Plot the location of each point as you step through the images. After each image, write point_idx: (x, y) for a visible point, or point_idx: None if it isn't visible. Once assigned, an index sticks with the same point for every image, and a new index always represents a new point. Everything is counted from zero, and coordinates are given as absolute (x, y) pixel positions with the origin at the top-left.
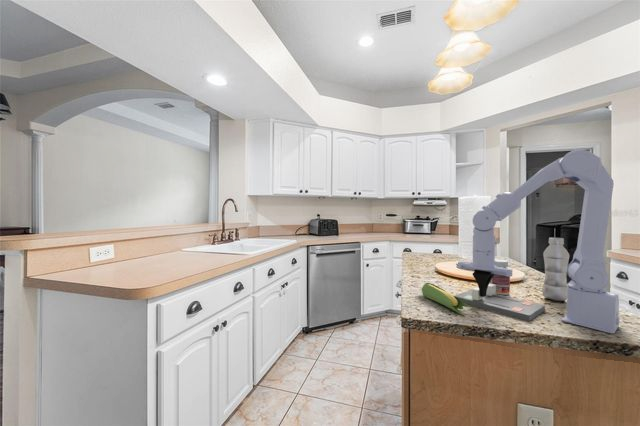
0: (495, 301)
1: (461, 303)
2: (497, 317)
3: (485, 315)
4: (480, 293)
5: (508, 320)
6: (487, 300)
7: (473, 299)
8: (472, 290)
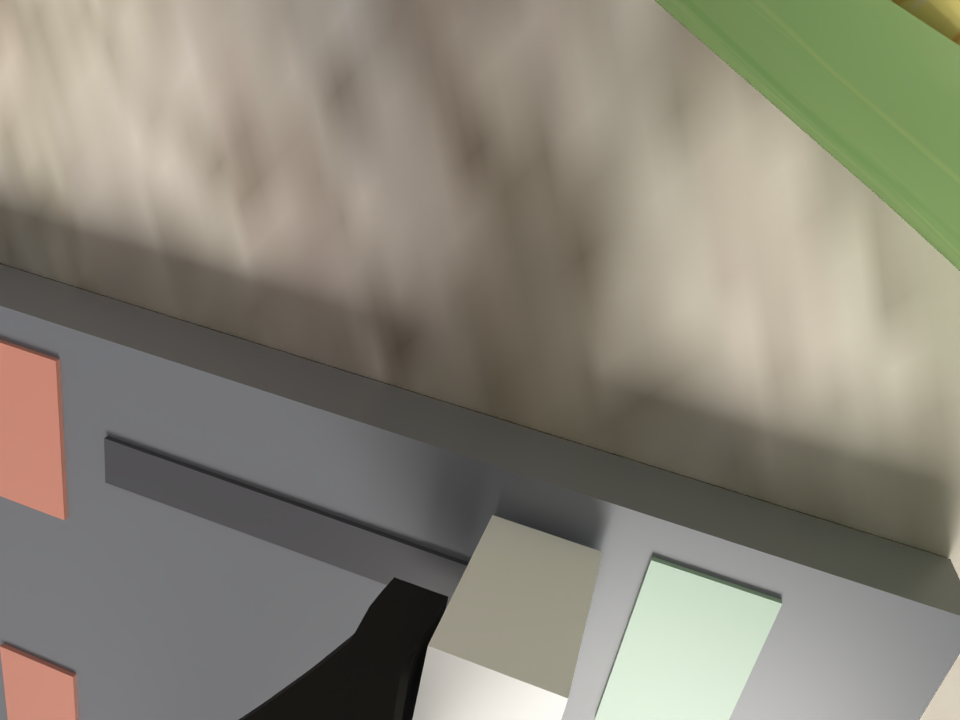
0: (303, 634)
1: (727, 55)
2: (191, 116)
3: (332, 80)
4: (415, 617)
5: (67, 90)
6: None
7: None
8: (563, 673)
